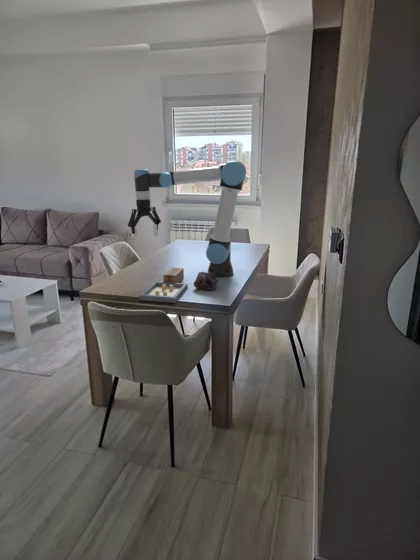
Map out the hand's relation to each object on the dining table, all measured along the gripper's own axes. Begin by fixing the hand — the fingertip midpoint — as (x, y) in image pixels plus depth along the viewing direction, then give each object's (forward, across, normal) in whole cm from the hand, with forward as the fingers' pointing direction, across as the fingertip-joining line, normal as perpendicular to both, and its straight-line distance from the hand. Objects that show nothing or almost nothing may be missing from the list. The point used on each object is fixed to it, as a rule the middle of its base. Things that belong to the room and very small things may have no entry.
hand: (145, 237), depth 212 cm
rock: (+24, -10, +38) cm, 46 cm away
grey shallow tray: (+23, +10, +29) cm, 39 cm away
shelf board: (+24, -5, +17) cm, 30 cm away
